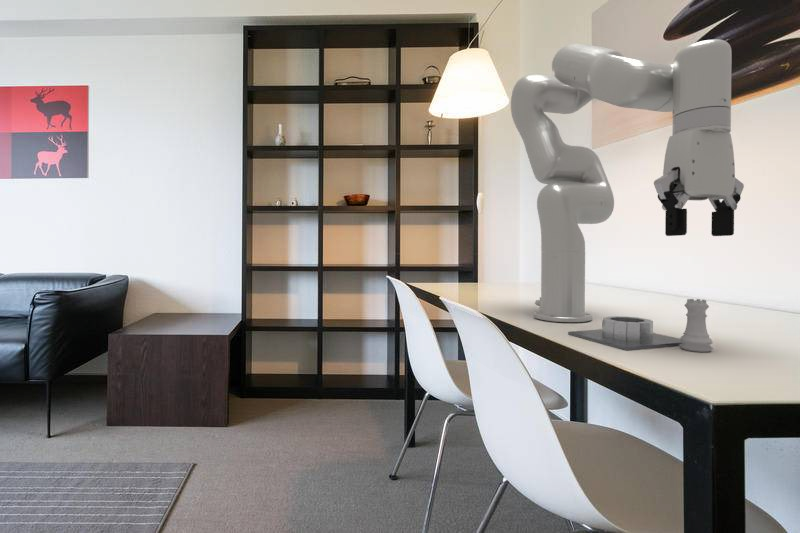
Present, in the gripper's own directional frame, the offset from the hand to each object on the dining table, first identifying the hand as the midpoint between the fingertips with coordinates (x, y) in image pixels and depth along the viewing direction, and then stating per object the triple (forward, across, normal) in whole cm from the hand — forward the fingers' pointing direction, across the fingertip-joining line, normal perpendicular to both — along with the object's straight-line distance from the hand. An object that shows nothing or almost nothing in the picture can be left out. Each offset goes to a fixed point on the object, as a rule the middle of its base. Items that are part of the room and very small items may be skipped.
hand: (699, 235), depth 68 cm
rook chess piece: (+18, 0, 0) cm, 18 cm away
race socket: (+18, +4, -10) cm, 21 cm away
